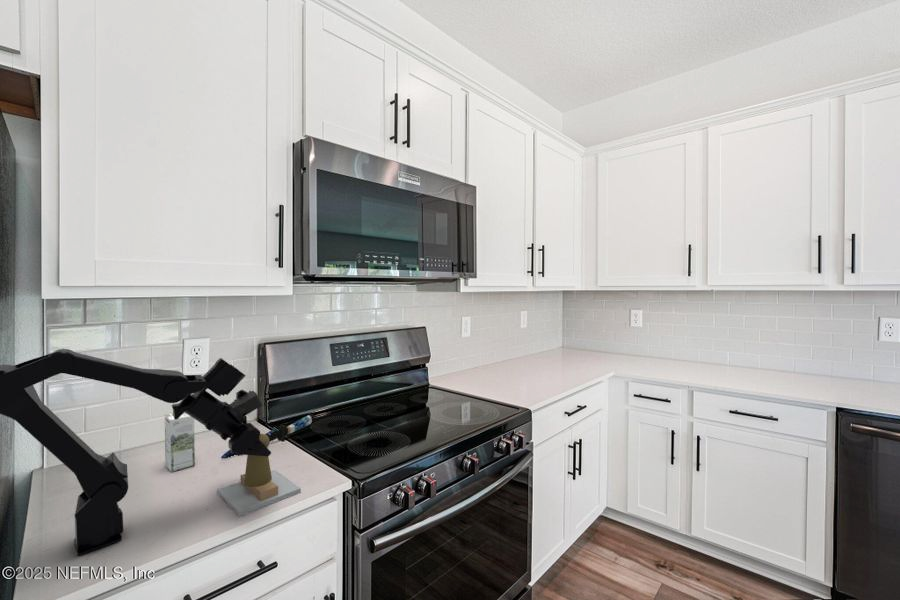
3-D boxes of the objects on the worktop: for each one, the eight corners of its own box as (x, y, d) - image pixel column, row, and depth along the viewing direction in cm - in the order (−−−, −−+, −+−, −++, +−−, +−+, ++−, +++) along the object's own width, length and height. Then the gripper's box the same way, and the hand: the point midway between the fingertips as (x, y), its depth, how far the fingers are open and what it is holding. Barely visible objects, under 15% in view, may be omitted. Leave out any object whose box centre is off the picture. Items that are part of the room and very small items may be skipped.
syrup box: (189, 459, 116) (188, 409, 115) (195, 466, 112) (194, 414, 111) (165, 466, 112) (163, 414, 111) (171, 473, 108) (169, 419, 107)
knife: (313, 424, 141) (311, 412, 140) (318, 426, 139) (316, 414, 138) (218, 464, 118) (216, 449, 117) (222, 467, 116) (220, 452, 115)
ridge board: (239, 516, 88) (238, 503, 88) (217, 493, 98) (216, 481, 97) (300, 492, 98) (300, 480, 98) (275, 473, 108) (275, 462, 108)
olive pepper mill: (255, 489, 94) (254, 442, 93) (238, 483, 96) (237, 437, 96) (277, 478, 99) (276, 433, 98) (260, 472, 102) (260, 429, 101)
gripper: (248, 391, 87) (301, 430, 94) (230, 375, 101) (277, 410, 109) (206, 436, 82) (265, 474, 90) (194, 412, 97) (245, 447, 104)
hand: (264, 448), depth 98 cm, fingers open, 9 cm apart
